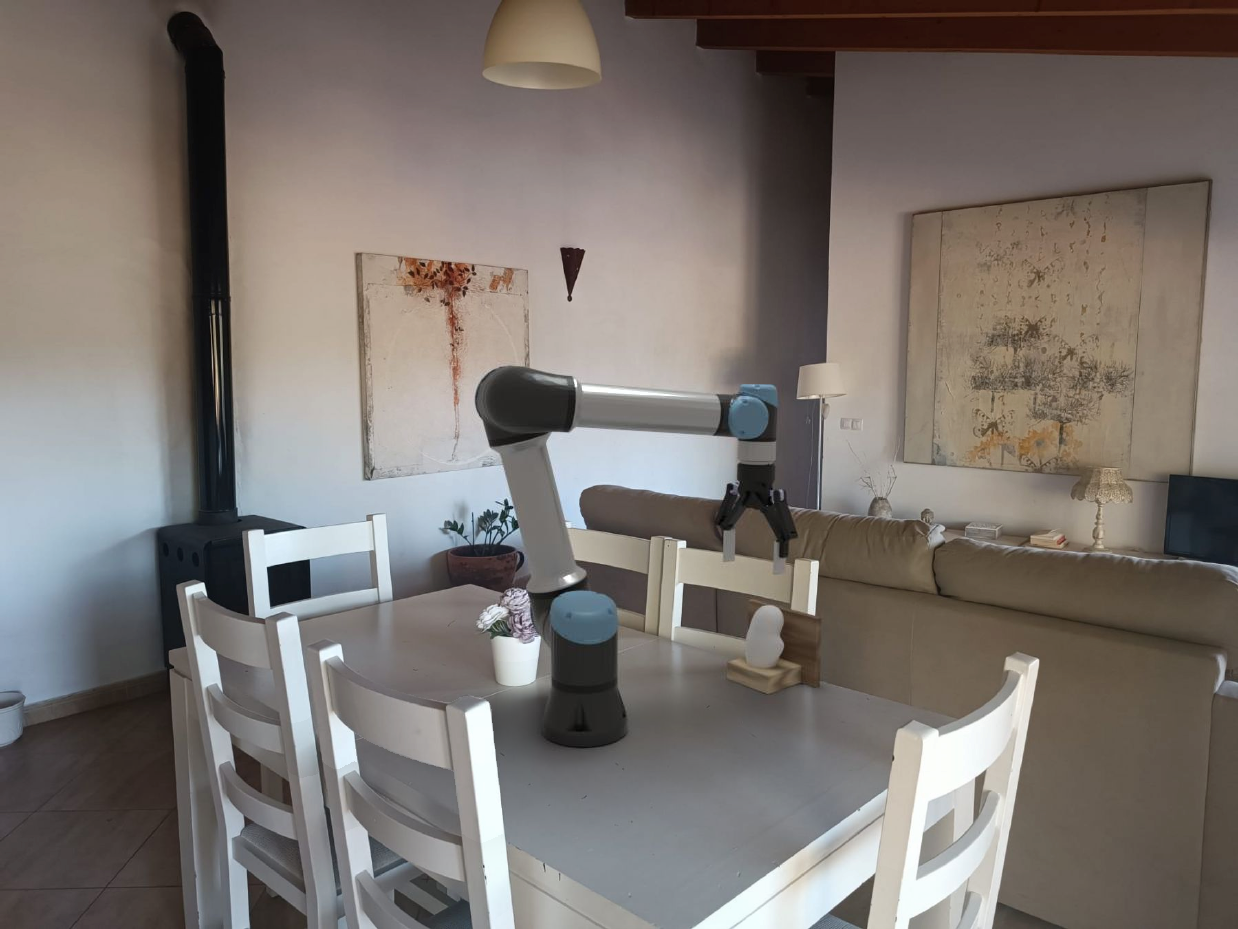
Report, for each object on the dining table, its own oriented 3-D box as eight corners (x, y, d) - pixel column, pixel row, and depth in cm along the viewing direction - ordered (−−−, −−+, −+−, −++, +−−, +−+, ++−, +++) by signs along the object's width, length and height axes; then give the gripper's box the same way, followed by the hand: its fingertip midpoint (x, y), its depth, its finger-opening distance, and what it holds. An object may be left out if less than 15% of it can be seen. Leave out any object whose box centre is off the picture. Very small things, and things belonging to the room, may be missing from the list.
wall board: (782, 699, 165) (783, 628, 163) (714, 674, 179) (715, 608, 177) (819, 685, 172) (821, 617, 170) (752, 662, 186) (753, 598, 184)
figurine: (785, 669, 171) (786, 610, 170) (747, 669, 171) (748, 610, 170) (779, 657, 178) (780, 601, 177) (742, 657, 178) (743, 601, 177)
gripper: (819, 466, 163) (814, 576, 165) (724, 456, 182) (721, 554, 185) (793, 469, 158) (789, 582, 161) (698, 457, 178) (696, 558, 180)
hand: (753, 567), depth 173 cm, fingers open, 13 cm apart
